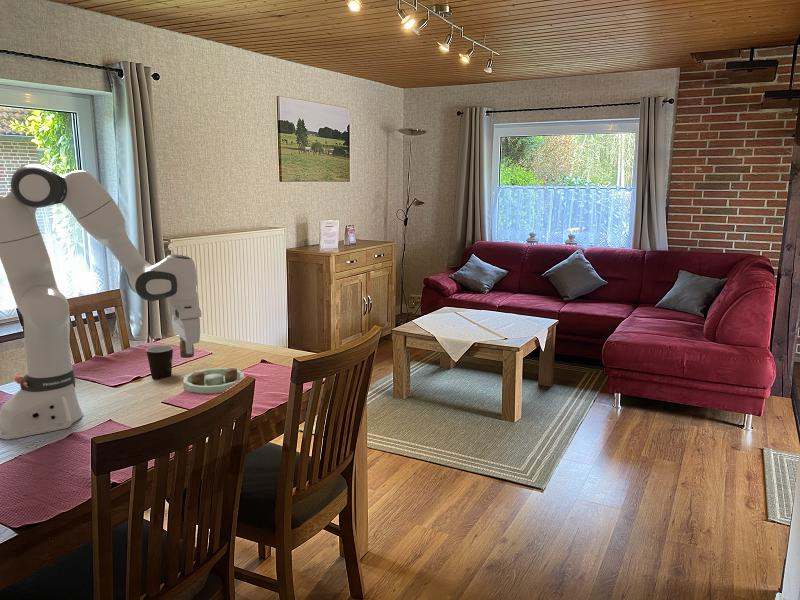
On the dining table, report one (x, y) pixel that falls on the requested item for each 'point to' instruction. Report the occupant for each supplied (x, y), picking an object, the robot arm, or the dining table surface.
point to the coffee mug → (160, 361)
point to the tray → (210, 388)
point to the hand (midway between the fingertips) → (186, 350)
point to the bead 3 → (230, 375)
